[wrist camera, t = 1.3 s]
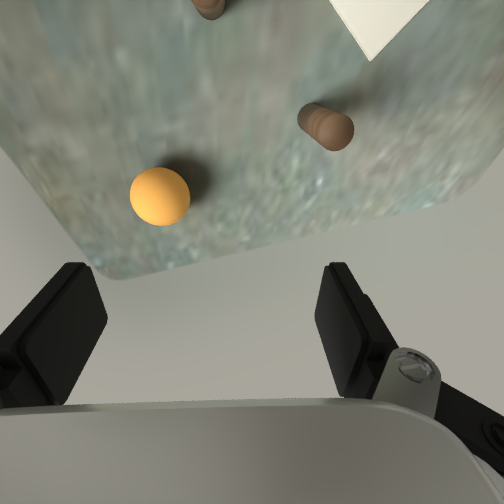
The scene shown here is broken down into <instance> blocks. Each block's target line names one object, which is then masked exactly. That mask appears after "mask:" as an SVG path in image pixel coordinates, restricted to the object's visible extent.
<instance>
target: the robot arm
mask: <svg viewBox="0 0 504 504" xmlns="http://www.w3.org/2000/svg"><path fill="white" fill-rule="evenodd" d="M107 319H108V317H107V313H106V310H105V307H104V304H103V301H102V299H101V296H100V293H99V290H98V287H97V284H96V281H95V278H94V276H93V273H92V270H91V268H90V267H89V266H86V264H85V263H83V262H68V263H65V264H64V265H63V266H62V267H61V269H60V270H59V271H58V272H57V273H56V274H55V275H54V277H52V279H51V280H50V281H49V282H48V283H47V284H46V285H45V286H44V287H43V288H42V290H41V291H40V292H39V293H38V294H37V295H36V296H35V297H34V298H33V299H32V301H31V302H30V303H29V304H28V305H27V306H26V307H25V308H24V309H23V310H22V312H21V313H20V314H19V315H18V316H17V317H16V318H15V319H14V320H13V322H12V323H11V324H10V325H9V326H8V327H7V328H6V329H5V330H4V331H3V333H2V334H1V335H0V504H504V416H502V415H500V414H498V413H497V412H495V411H493V410H492V409H490V408H488V407H486V406H485V405H483V404H481V403H479V402H478V401H476V400H474V399H472V398H471V397H469V396H467V395H465V394H464V393H462V392H460V391H458V390H457V389H455V388H453V387H451V386H450V385H448V384H446V383H444V382H443V381H441V373H440V371H439V369H438V367H437V366H436V365H435V363H434V362H433V361H432V360H431V359H430V358H429V357H427V356H426V355H424V354H422V353H421V352H419V351H417V350H414V349H411V348H405V347H404V348H399V346H398V345H397V343H396V341H395V340H394V338H393V336H392V335H391V333H390V331H389V330H388V328H387V326H386V325H385V323H384V321H383V320H382V318H381V316H380V315H379V313H378V312H377V310H376V308H375V306H374V305H373V303H372V301H371V300H370V298H369V297H368V295H366V294H363V292H362V290H361V288H360V287H359V285H358V283H357V282H356V280H355V279H354V276H353V275H352V273H351V271H350V270H349V268H348V266H347V264H346V263H344V262H331V263H330V264H329V266H325V268H324V273H323V277H322V282H321V286H320V291H319V296H318V300H317V305H316V309H315V321H316V325H317V328H318V331H319V334H320V337H321V340H322V344H323V347H324V350H325V353H326V356H327V359H328V362H329V365H330V369H331V372H332V375H333V378H334V381H335V384H336V387H337V390H338V393H339V395H340V396H341V397H344V398H284V399H243V400H207V401H173V402H142V403H141V402H140V403H111V404H83V405H63V404H64V403H65V402H66V401H67V399H68V397H69V395H70V393H71V391H72V389H73V387H74V385H75V383H76V381H77V380H78V377H79V376H80V374H81V372H82V370H83V368H84V366H85V364H86V362H87V360H88V358H89V357H90V355H91V353H92V351H93V349H94V347H95V345H96V343H97V341H98V339H99V337H100V335H101V334H102V332H103V330H104V328H105V326H106V324H107Z"/></svg>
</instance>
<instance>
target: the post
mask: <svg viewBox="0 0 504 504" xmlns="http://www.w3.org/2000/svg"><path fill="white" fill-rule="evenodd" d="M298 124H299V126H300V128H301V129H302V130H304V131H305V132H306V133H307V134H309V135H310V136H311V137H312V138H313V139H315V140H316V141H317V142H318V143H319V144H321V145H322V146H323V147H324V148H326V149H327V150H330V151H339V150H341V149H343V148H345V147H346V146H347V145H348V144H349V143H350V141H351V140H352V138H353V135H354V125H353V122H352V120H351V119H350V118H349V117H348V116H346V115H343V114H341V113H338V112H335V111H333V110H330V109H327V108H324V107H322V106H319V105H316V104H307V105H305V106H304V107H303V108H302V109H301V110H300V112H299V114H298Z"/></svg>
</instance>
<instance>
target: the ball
mask: <svg viewBox="0 0 504 504" xmlns="http://www.w3.org/2000/svg"><path fill="white" fill-rule="evenodd" d="M130 199H131V203H132V206H133V208H134V210H135V212H136V213H137V214H138V215H139V216H140V217H141V218H142V219H143V220H145V221H147V222H149V223H151V224H154V225H170V224H173V223H175V222H177V221H179V220H180V219H181V218H182V217H183V216H184V215H185V214H186V212H187V210H188V208H189V204H190V192H189V189H188V186H187V184H186V182H185V181H184V180H183V178H182V177H181V176H180V175H178V174H177V173H176V172H174V171H172V170H170V169H166V168H161V167H156V168H150V169H147V170H145V171H143V172H142V173H140V174H139V175H138V176H137V177H136V178H135V180H134V181H133V183H132V186H131V190H130Z"/></svg>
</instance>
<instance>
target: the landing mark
mask: <svg viewBox="0 0 504 504" xmlns="http://www.w3.org/2000/svg"><path fill="white" fill-rule="evenodd" d="M329 1H330V2H331V4H332V5H333V7H334V8H335V10H336V11H337V13H338V14H339V16H340V17H341V19H342V20H343V22H344V23H345V25H346V26H347V28H348V29H349V31H350V32H351V34H352V35H353V37H354V38H355V40H356V41H357V43H358V44H359V46H360V47H361V49H362V50H363V52H364V53H365V55H366V56H367V58H368V60H369V61H372V60H373V58H374V57H375V56H376V55H377V54H378V53H379V52H380V51H381V50H382V49H383V48H384V47H385V46H386V45H387V44H388V43H389V42H390V41H391V40H392V39H393V38H394V37H395V35H396V34H397V33H398V32H399V31H400V30H401V29H402V28H403V27H404V26H405V25H406V24H407V23H408V22H409V21H410V20H411V19H412V18H413V17H414V16H415V15H416V14H417V12H418V11H419V10H420V9H421V8H422V7H423V6H424V5H425V4H426V3H427V2H428V1H429V0H329Z"/></svg>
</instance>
